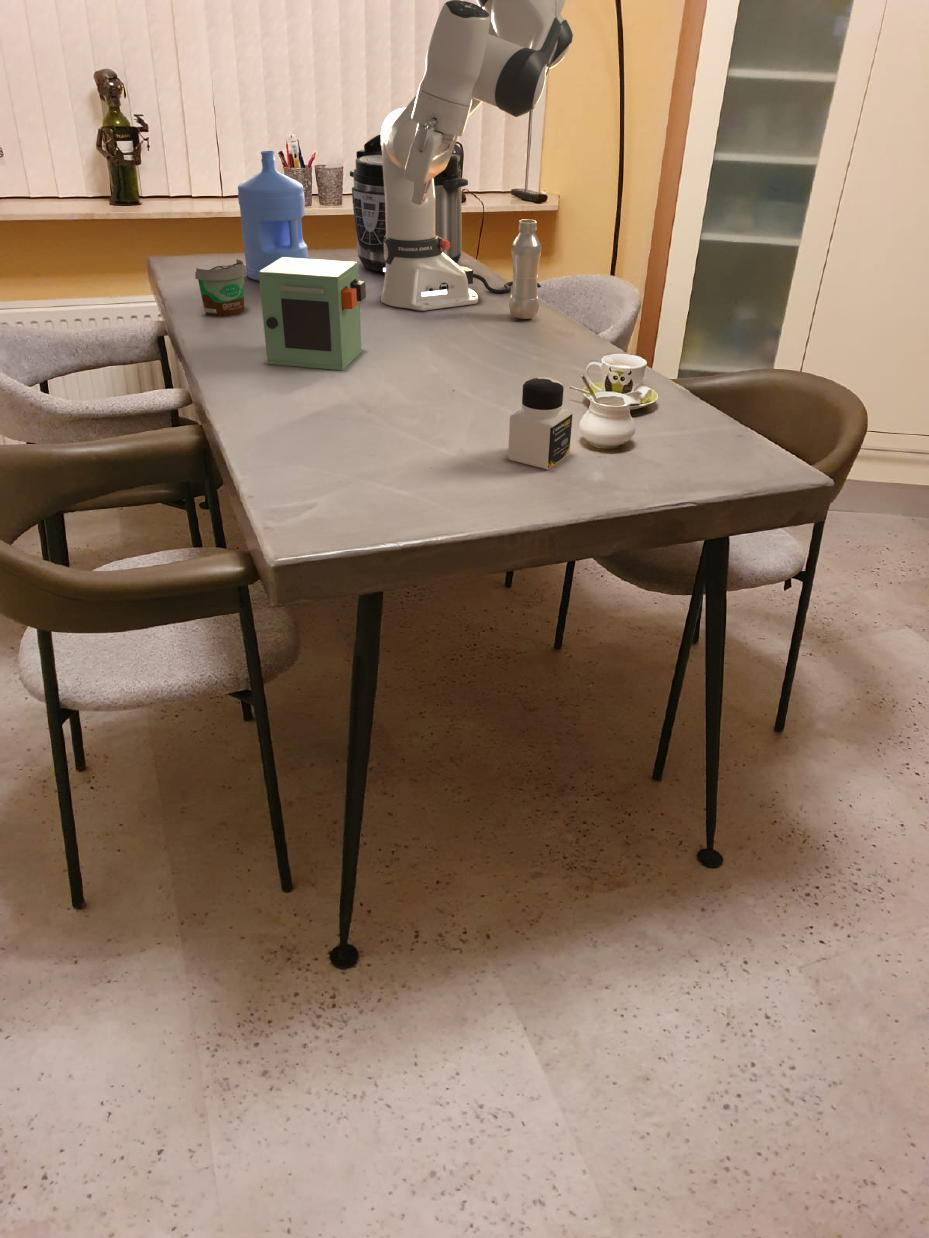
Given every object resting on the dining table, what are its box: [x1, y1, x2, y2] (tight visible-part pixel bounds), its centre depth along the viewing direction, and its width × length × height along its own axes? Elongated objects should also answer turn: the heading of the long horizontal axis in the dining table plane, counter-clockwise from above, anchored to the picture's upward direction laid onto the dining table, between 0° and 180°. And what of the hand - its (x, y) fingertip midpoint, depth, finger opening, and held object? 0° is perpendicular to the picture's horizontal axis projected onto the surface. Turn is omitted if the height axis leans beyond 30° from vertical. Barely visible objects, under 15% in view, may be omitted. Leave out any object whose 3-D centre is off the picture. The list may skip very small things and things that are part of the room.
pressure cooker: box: [349, 133, 469, 273], centre depth 242 cm, size 30×28×32 cm
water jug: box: [237, 150, 309, 282], centre depth 232 cm, size 16×16×28 cm
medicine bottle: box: [507, 376, 574, 471], centre depth 144 cm, size 7×7×12 cm
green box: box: [258, 257, 362, 371], centre depth 181 cm, size 15×13×17 cm
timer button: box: [350, 280, 367, 302], centre depth 180 cm, size 3×3×3 cm
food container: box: [194, 258, 247, 318], centre depth 208 cm, size 12×6×10 cm, turn 143°
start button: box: [341, 288, 357, 309], centre depth 176 cm, size 3×3×3 cm
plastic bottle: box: [508, 219, 542, 320], centre depth 206 cm, size 6×7×20 cm
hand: (417, 202), depth 164 cm, fingers closed
